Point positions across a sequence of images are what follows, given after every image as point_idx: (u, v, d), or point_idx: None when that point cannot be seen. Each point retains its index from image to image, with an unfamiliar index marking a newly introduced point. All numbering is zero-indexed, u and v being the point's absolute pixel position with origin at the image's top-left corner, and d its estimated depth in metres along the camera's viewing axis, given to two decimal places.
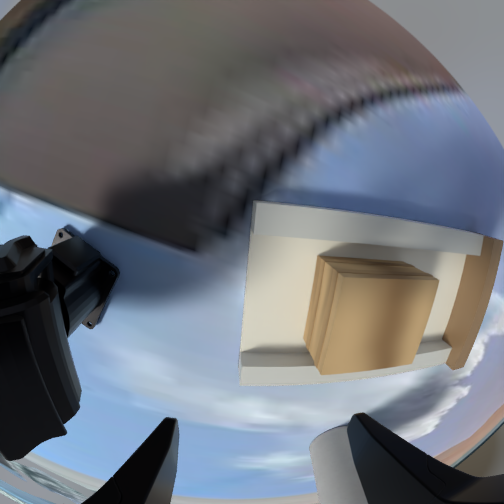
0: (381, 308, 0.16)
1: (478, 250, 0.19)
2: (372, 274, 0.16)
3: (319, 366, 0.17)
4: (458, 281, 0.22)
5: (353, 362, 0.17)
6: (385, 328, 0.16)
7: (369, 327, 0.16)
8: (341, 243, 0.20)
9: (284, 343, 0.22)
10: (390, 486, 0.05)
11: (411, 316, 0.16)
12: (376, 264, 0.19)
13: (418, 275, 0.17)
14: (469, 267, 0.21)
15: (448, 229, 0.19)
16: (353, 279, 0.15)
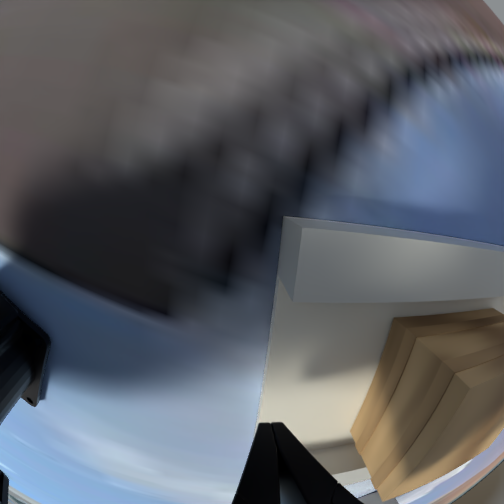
0: (491, 408, 0.06)
1: None
2: (494, 361, 0.06)
3: (381, 489, 0.07)
4: None
5: (430, 476, 0.07)
6: (483, 428, 0.06)
7: (468, 436, 0.06)
8: None
9: (321, 440, 0.12)
10: None
11: None
12: (478, 326, 0.09)
13: None
14: None
15: None
16: (480, 385, 0.05)
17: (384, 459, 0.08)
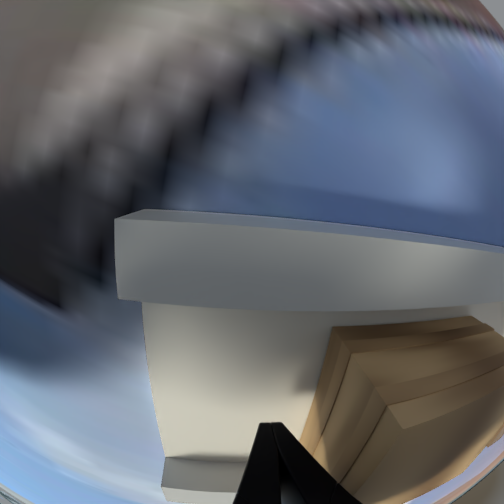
0: (452, 442, 0.05)
1: None
2: (454, 388, 0.05)
3: None
4: None
5: None
6: (446, 461, 0.05)
7: (421, 471, 0.05)
8: None
9: (236, 453, 0.11)
10: None
11: (488, 429, 0.06)
12: (444, 340, 0.08)
13: None
14: None
15: None
16: (422, 424, 0.04)
17: None
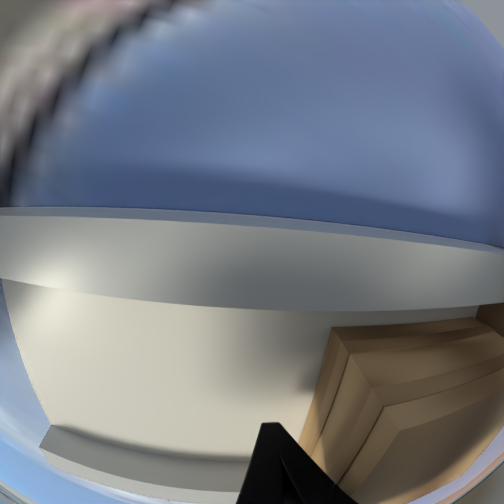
0: (451, 444, 0.05)
1: None
2: (452, 390, 0.05)
3: None
4: None
5: None
6: (445, 463, 0.05)
7: (420, 473, 0.05)
8: None
9: (98, 432, 0.10)
10: None
11: (487, 431, 0.05)
12: (445, 341, 0.08)
13: None
14: (486, 321, 0.09)
15: (445, 248, 0.07)
16: (419, 426, 0.04)
17: None
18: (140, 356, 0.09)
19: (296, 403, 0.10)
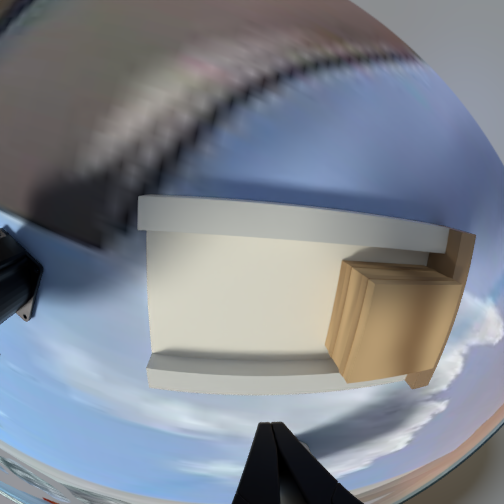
0: (408, 314, 0.15)
1: (442, 246, 0.17)
2: (400, 280, 0.15)
3: (345, 374, 0.16)
4: None
5: (378, 369, 0.16)
6: (411, 334, 0.15)
7: (396, 334, 0.15)
8: (249, 238, 0.18)
9: (196, 348, 0.20)
10: None
11: (435, 321, 0.15)
12: (400, 269, 0.18)
13: (442, 280, 0.16)
14: (432, 267, 0.19)
15: (393, 220, 0.17)
16: (384, 285, 0.14)
17: (344, 350, 0.17)
18: (245, 278, 0.19)
19: (325, 308, 0.20)
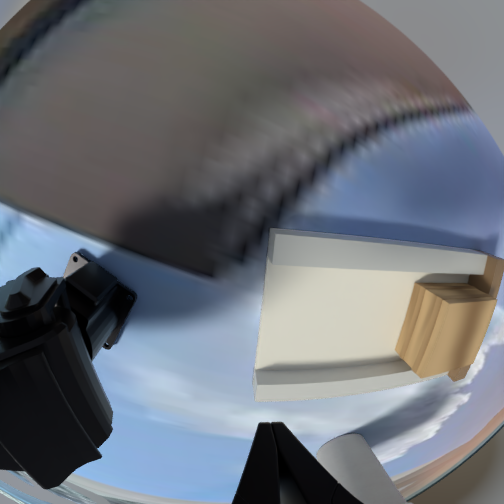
0: (464, 323, 0.17)
1: (481, 269, 0.20)
2: (460, 299, 0.17)
3: (418, 371, 0.19)
4: None
5: (441, 365, 0.18)
6: (463, 338, 0.18)
7: (455, 338, 0.18)
8: None
9: (297, 361, 0.22)
10: None
11: (478, 327, 0.18)
12: (455, 288, 0.20)
13: (484, 296, 0.18)
14: (472, 285, 0.21)
15: (454, 252, 0.19)
16: (453, 304, 0.17)
17: (417, 353, 0.19)
18: (347, 300, 0.21)
19: (399, 321, 0.22)
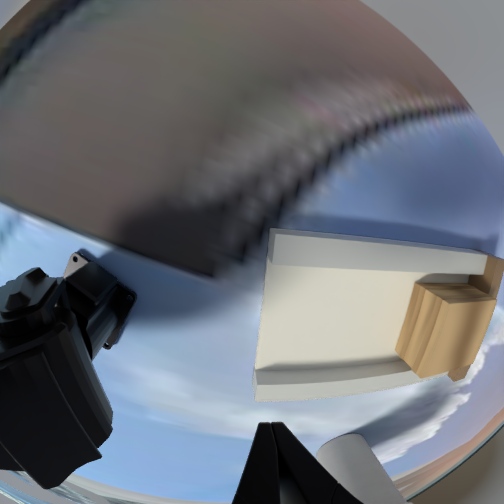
0: (464, 323, 0.17)
1: (481, 269, 0.20)
2: (460, 299, 0.17)
3: (418, 371, 0.19)
4: None
5: (441, 365, 0.18)
6: (463, 338, 0.18)
7: (455, 338, 0.18)
8: None
9: (297, 361, 0.22)
10: None
11: (478, 328, 0.18)
12: (454, 288, 0.20)
13: (484, 296, 0.18)
14: (472, 285, 0.21)
15: (454, 252, 0.19)
16: (453, 304, 0.17)
17: (417, 353, 0.19)
18: (347, 300, 0.21)
19: (399, 321, 0.22)
